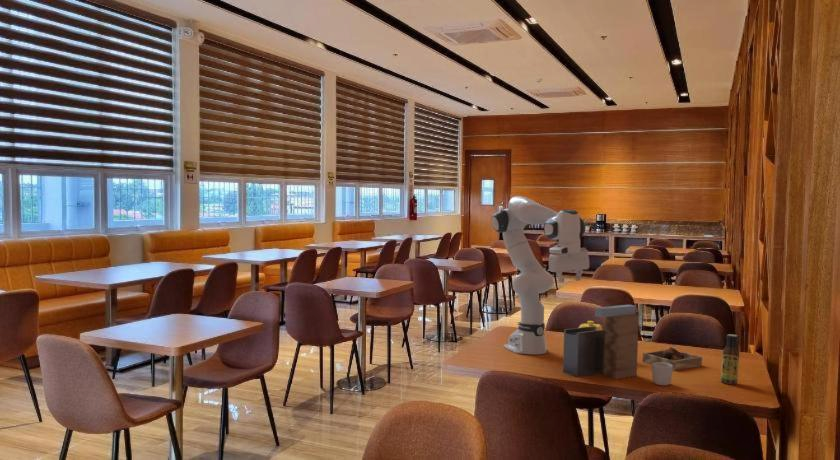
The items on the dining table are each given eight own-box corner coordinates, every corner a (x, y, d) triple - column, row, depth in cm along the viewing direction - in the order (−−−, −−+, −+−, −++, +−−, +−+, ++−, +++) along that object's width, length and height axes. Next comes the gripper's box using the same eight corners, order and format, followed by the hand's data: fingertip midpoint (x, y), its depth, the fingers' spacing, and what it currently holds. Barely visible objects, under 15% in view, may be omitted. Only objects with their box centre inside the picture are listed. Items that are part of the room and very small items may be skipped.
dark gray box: (563, 372, 275) (564, 329, 274) (592, 367, 284) (594, 326, 283) (577, 377, 268) (578, 333, 267) (607, 372, 277) (608, 329, 276)
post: (603, 375, 272) (605, 314, 270) (623, 371, 278) (625, 312, 276) (616, 379, 266) (618, 316, 264) (636, 375, 272) (638, 314, 270)
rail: (594, 316, 265) (595, 307, 265) (628, 312, 275) (629, 304, 275) (601, 317, 262) (601, 309, 262) (635, 314, 272) (635, 305, 272)
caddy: (642, 361, 296) (642, 353, 296) (670, 357, 305) (670, 349, 305) (673, 370, 281) (673, 361, 281) (701, 365, 291) (702, 356, 290)
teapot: (566, 345, 328) (567, 320, 327) (587, 340, 340) (588, 316, 340) (601, 352, 313) (602, 326, 312) (621, 347, 326) (622, 322, 325)
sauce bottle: (719, 383, 262) (721, 335, 261) (721, 380, 267) (723, 332, 266) (737, 386, 259) (739, 337, 258) (738, 382, 264) (740, 334, 263)
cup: (644, 379, 266) (645, 360, 266) (663, 379, 267) (664, 360, 267) (656, 387, 256) (657, 367, 255) (675, 386, 256) (676, 367, 256)
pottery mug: (661, 360, 301) (671, 346, 300) (678, 372, 296) (689, 358, 295) (653, 358, 292) (663, 343, 291) (671, 371, 286) (682, 356, 285)
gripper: (581, 246, 276) (582, 278, 277) (546, 249, 266) (546, 282, 266) (592, 247, 271) (592, 280, 272) (556, 250, 260) (557, 284, 261)
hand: (569, 281), depth 269 cm, fingers open, 8 cm apart
